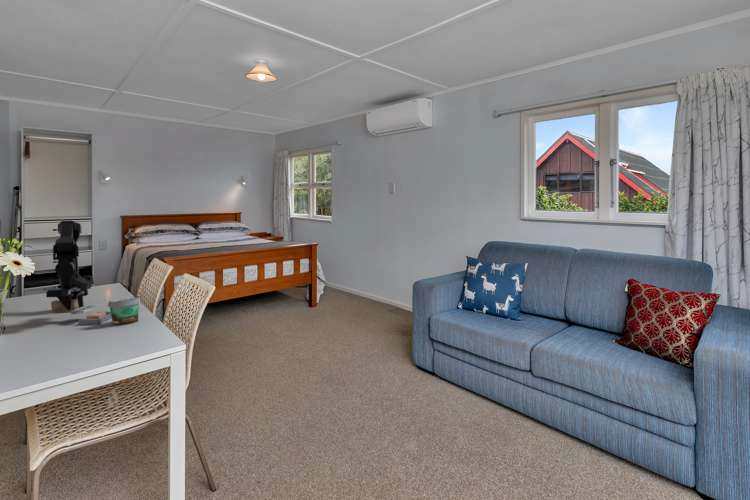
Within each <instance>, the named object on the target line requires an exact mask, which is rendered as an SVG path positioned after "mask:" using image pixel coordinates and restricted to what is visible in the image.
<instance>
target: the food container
mask: <svg viewBox="0 0 750 500" xmlns="http://www.w3.org/2000/svg"><path fill="white" fill-rule="evenodd" d="M140 303H141V298H140V296H139V295H136V297H134V298H133V297H132V298H125V299H120V300H118V301H110V300H109V301H108V302H107V307H109V310H110V311H109V312H111V316H112V319H111V320H112V325H113V326H127V325H132V324H135V322H136V323H137V322H139V311H140V310H139V309H140V308H139V307H140Z"/></svg>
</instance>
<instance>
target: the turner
mask: <svg viewBox="0 0 750 500" xmlns="http://www.w3.org/2000/svg"><path fill="white" fill-rule="evenodd" d="M50 305H51V306H50V307H51V313H52V315H54V314H56V315H57V314H69V313H70V315H76V314H85V313H87V312H90V311H92V310H94V309H96V305H84V306H83V307H81V308H79V305H78V299H71V308H70V310H67V309H66V308H65V307H64V305H63V304H62V303H61V301H60V300H59V299H58V300H57V299H56V300H55V299H54V300H52V301H51V302H50Z"/></svg>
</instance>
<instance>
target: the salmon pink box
mask: <svg viewBox="0 0 750 500" xmlns="http://www.w3.org/2000/svg"><path fill="white" fill-rule="evenodd" d="M99 312H100V313H95V312H92V313H90V314H88V315H87V314H86V316H85V317H86V318H85V319H100V318H102V317H104V316H106V312H107V311H99Z"/></svg>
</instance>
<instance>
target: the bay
mask: <svg viewBox="0 0 750 500" xmlns="http://www.w3.org/2000/svg"><path fill="white" fill-rule="evenodd" d="M100 312H101V311H95V312H94V313H100ZM105 312H106V316H104V317H102V318H100V319H86V318H85V319H83V318H82V319H81V318H80V319H78V325H79V326H83V325H84V326H90V325H92V326H94V325H95V326H97V325H99V326H100V325H102V324H103V323H106V322H108V321H109V320H112V316H111V311H105Z"/></svg>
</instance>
